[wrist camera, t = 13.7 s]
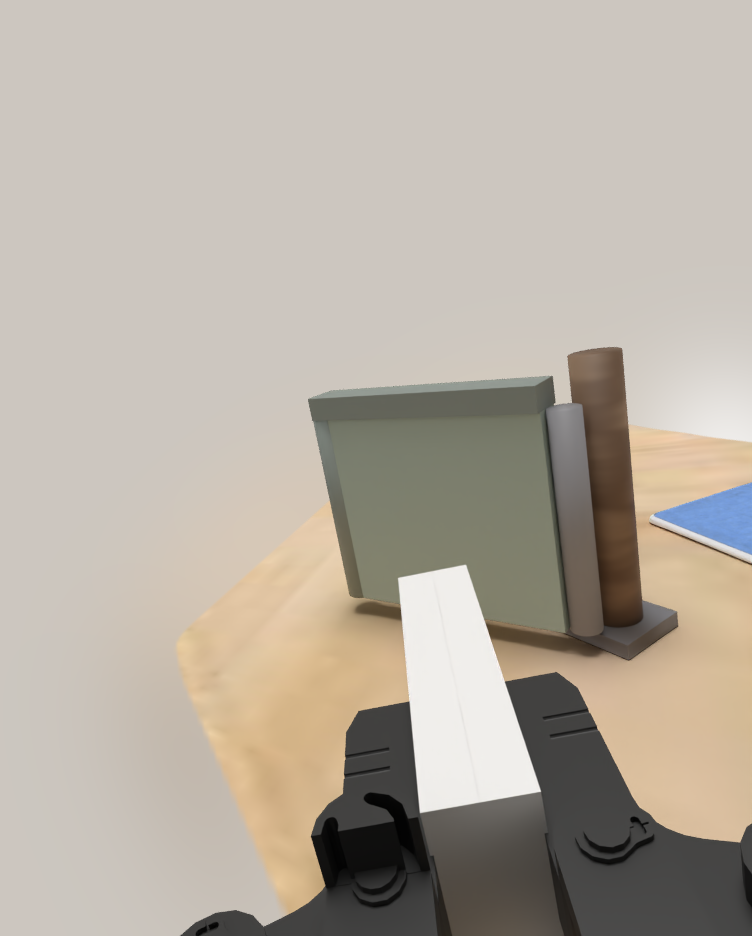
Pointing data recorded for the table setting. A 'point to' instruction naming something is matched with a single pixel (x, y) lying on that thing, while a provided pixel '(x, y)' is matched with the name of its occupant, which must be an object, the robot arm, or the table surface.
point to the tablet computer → (715, 521)
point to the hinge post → (614, 506)
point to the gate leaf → (465, 495)
